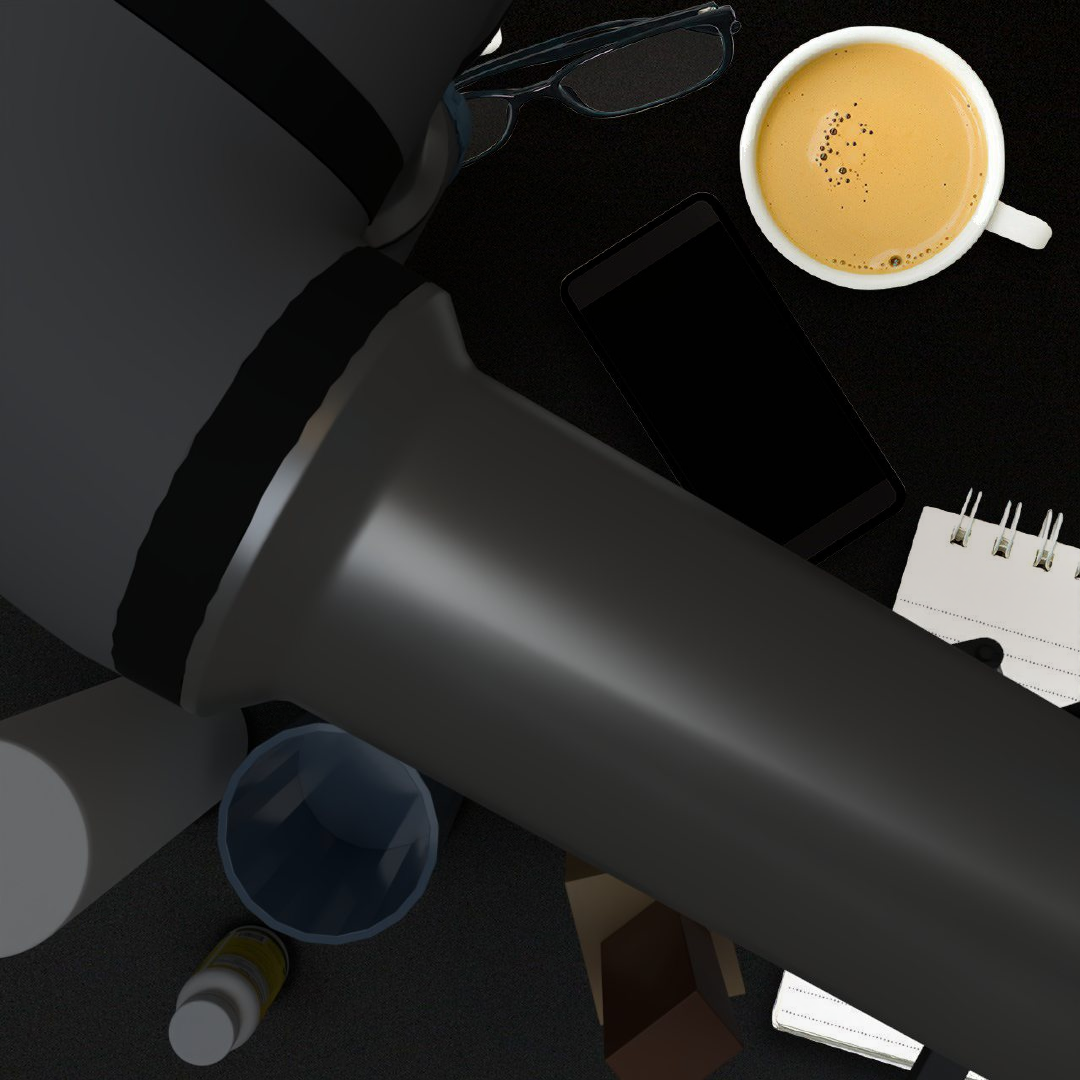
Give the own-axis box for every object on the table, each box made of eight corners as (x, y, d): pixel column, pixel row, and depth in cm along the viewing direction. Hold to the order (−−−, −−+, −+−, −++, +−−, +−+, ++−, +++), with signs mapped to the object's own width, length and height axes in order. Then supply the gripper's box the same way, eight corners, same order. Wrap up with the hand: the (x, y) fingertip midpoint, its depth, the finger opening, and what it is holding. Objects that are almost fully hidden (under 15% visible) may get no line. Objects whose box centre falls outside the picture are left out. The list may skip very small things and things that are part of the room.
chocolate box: (673, 886, 51) (697, 989, 40) (710, 933, 51) (745, 1049, 40) (599, 943, 52) (603, 1060, 41) (637, 989, 52) (651, 1120, 41)
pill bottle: (235, 1009, 79) (178, 1090, 68) (204, 939, 78) (142, 1010, 67) (303, 980, 78) (257, 1058, 67) (273, 911, 78) (222, 977, 67)
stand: (571, 760, 77) (564, 882, 52) (669, 737, 76) (710, 849, 51) (595, 857, 77) (600, 1025, 52) (693, 834, 76) (746, 994, 51)
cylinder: (244, 821, 78) (84, 969, 53) (94, 811, 79) (-135, 952, 54) (251, 668, 78) (92, 744, 53) (99, 658, 78) (-129, 729, 53)
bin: (274, 701, 78) (193, 751, 62) (444, 660, 77) (407, 700, 61) (317, 871, 78) (248, 965, 62) (487, 832, 77) (462, 917, 61)
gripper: (1391, 1164, 31) (762, 1292, 36) (1038, 491, 40) (574, 660, 45) (1533, 1254, 24) (734, 1398, 29) (1070, 421, 34) (519, 628, 38)
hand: (635, 949), depth 37 cm, fingers open, 13 cm apart
